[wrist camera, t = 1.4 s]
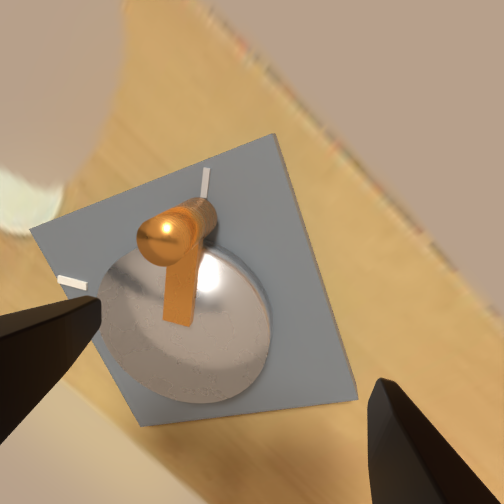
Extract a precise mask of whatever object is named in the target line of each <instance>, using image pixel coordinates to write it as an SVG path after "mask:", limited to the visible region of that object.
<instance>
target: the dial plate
mask: <svg viewBox="0 0 504 504" xmlns="http://www.w3.org/2000/svg"><path fill="white" fill-rule="evenodd" d="M194 197H200V198H204V199H206V200H207V201H209V202H210V203H211V204H212V205H213V206H214V208H215V210H216V212H217V224H216V226H215V228H214V230H213V231H212V232H210V233H209V234H208V235H207V236H206V237H205V238H204V239H206V240H209V241H212V242H214V243H216V244H218V245H221V246H223V247H224V248H226V249H228V250H229V251H231V252H232V253H234V254H235V255H236V256H238V257H239V258H240V259H242V260H243V261H244V262H245V263H246V264H247V265H248V266H249V267H250V268H251V269H252V271H253V272H254V273H255V274H256V276H257V277H258V279H259V280H260V282H261V283H262V285H263V287H264V289H265V291H266V293H267V295H268V298H269V301H270V304H271V308H272V315H273V331H272V338H271V342H270V346H269V350H268V354H267V357H266V361H265V364H264V366H263V368H262V370H261V372H260V374H259V375H258V377H257V378H256V379H255V381H254V382H253V383H252V384H251V385H250V386H249V387H248V388H246V389H245V390H243V391H242V392H241V393H239V394H237V395H235V396H233V397H231V398H228V399H225V400H223V401H218V402H213V403H188V402H181V401H177V400H173V399H170V398H167V397H165V396H162V395H160V394H157V393H155V392H153V391H151V390H150V389H148V388H146V387H144V386H143V385H141V384H140V383H139V382H137V381H136V380H134V379H133V378H132V377H131V376H130V375H129V374H128V373H126V372H125V371H124V369H123V368H122V367H121V366H120V365H119V364H118V363H117V362H116V360H115V359H114V358H113V356H112V355H111V353H110V352H109V350H108V348H107V347H106V345H105V343H104V341H103V338H102V336H101V333H100V330H98V331H97V333H96V334H95V335H94V337H93V338H92V339H91V340H92V342H93V343H94V345H95V347H96V349H97V351H98V352H99V354H100V356H101V358H102V359H103V361H104V363H105V365H106V367H107V368H108V370H109V372H110V374H111V375H112V377H113V379H114V381H115V382H116V384H117V386H118V388H119V390H120V391H121V393H122V395H123V397H124V398H125V400H126V402H127V404H128V406H129V407H130V409H131V411H132V413H133V414H134V416H135V418H136V420H137V422H138V423H139V425H140V427H144V426H152V425H160V424H168V423H176V422H184V421H192V420H200V419H208V418H216V417H224V416H232V415H240V414H249V413H257V412H265V411H273V410H281V409H289V408H297V407H305V406H313V405H321V404H329V403H337V402H345V401H353V400H358V393H357V386H356V382H355V379H354V376H353V373H352V370H351V367H350V363H349V360H348V357H347V354H346V351H345V348H344V345H343V342H342V339H341V335H340V332H339V329H338V326H337V323H336V320H335V317H334V314H333V311H332V308H331V304H330V301H329V298H328V295H327V292H326V289H325V286H324V283H323V280H322V277H321V273H320V270H319V267H318V264H317V261H316V258H315V255H314V252H313V249H312V245H311V242H310V239H309V236H308V233H307V230H306V227H305V224H304V221H303V218H302V214H301V211H300V208H299V205H298V202H297V199H296V196H295V193H294V190H293V187H292V183H291V180H290V177H289V174H288V171H287V168H286V165H285V162H284V159H283V156H282V152H281V149H280V146H279V143H278V140H277V137H276V134H275V133H274V134H269V135H267V136H264V137H262V138H259V139H257V140H254V141H252V142H249V143H247V144H244V145H242V146H239V147H236V148H234V149H231V150H229V151H226V152H224V153H221V154H219V155H216V156H214V157H211V158H209V159H206V160H204V161H201V162H198V163H196V164H193V165H191V166H188V167H186V168H183V169H181V170H178V171H176V172H173V173H171V174H168V175H166V176H163V177H160V178H158V179H155V180H153V181H150V182H148V183H145V184H143V185H140V186H138V187H135V188H133V189H130V190H127V191H125V192H122V193H120V194H117V195H115V196H112V197H110V198H107V199H105V200H102V201H100V202H97V203H95V204H92V205H89V206H87V207H84V208H82V209H79V210H77V211H74V212H72V213H69V214H67V215H64V216H62V217H59V218H57V219H54V220H51V221H49V222H46V223H44V224H41V225H39V226H36V227H34V228H31V229H29V230H30V232H31V233H32V235H33V237H34V239H35V240H36V242H37V244H38V246H39V248H40V249H41V251H42V253H43V255H44V256H45V258H46V260H47V262H48V264H49V265H50V267H51V269H52V271H53V272H54V274H55V276H56V278H57V280H58V283H60V285H61V287H62V288H63V290H64V292H65V294H66V296H67V297H68V299H73V298H77V297H81V296H85V295H89V296H93V297H96V298H97V294H98V289H99V286H100V284H101V281H102V279H103V277H104V276H105V274H106V272H107V271H108V270H109V269H110V267H111V266H112V265H113V264H114V263H115V262H116V261H118V260H119V259H120V258H121V257H123V256H124V255H126V254H128V253H129V252H131V251H132V250H134V249H136V248H137V247H138V246H137V241H136V236H137V231H138V229H139V227H140V226H141V224H142V223H143V222H145V221H146V220H148V219H150V218H152V217H154V216H156V215H158V214H160V213H162V212H164V211H166V210H168V209H170V208H172V207H174V206H176V205H178V204H180V203H182V202H184V201H186V200H188V199H191V198H194Z"/></svg>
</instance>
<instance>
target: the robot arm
mask: <svg viewBox="0 0 504 504" xmlns="http://www.w3.org/2000/svg"><path fill="white" fill-rule="evenodd" d="M101 323H102V302H101V300H100V299H99V298H96V297H93V296H89V295H85V296H81V297H77V298H73V299H69V300H64V301H60V302H56V303H52V304H48V305H43V306H39V307H35V308H31V309H27V310H23V311H18V312H14V313H10V314H6V315H2V316H0V445H1V444H2V442H3V441H4V440H5V439H6V438H7V437H8V436H9V435H10V434H11V433H12V431H13V430H14V429H15V428H16V427H17V426H18V425H19V424H20V423H21V422H22V420H23V419H24V418H25V417H26V416H27V415H28V414H29V413H30V412H31V411H32V409H33V408H34V407H35V406H36V405H37V404H38V403H39V402H40V401H41V400H42V398H43V397H44V396H45V395H46V394H47V393H48V392H49V391H50V390H51V389H52V388H53V386H54V385H55V384H56V383H57V382H58V381H59V380H60V379H61V378H62V377H63V375H64V374H65V373H66V372H67V371H68V370H69V368H70V367H71V366H72V365H73V363H74V362H75V361H76V359H77V358H78V357H79V355H80V354H81V353H82V351H83V350H84V349H85V347H86V346H87V345H88V343H89V342H90V341H91V339H92V338H93V337H94V335H95V334H96V333H97V331H98V330H99V328H100V326H101ZM367 419H368V470H369V479H370V488H371V496H372V504H501V503H500V502H499V501H498V500H497V498H496V497H495V496H494V495H493V494H492V493H491V492H490V490H489V489H488V488H487V487H486V486H485V485H484V483H483V482H482V481H481V480H480V479H479V478H478V477H477V475H476V474H475V473H474V472H473V471H472V470H471V468H470V467H469V466H468V465H467V464H466V463H465V462H464V460H463V459H462V458H461V457H460V456H459V455H458V453H457V452H456V451H455V450H454V449H453V448H452V447H451V445H450V444H449V443H448V442H447V441H446V440H445V438H444V437H443V436H442V435H441V434H440V433H439V432H438V430H437V429H436V428H435V427H434V426H433V425H432V423H431V422H430V421H429V420H428V419H427V418H426V417H425V415H424V414H423V413H422V412H421V411H420V410H419V408H418V407H417V406H416V405H415V404H414V403H413V402H412V400H411V399H410V398H409V397H408V396H407V395H406V393H405V392H404V391H403V390H402V389H401V388H400V386H399V385H398V384H397V383H396V382H394V381H392V380H388V379H385V378H379V379H378V380H377V381H376V384H375V386H374V389H373V391H372V393H371V396H370V398H369V401H368V407H367Z"/></svg>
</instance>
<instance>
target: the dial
mask: <svg viewBox="0 0 504 504" xmlns="http://www.w3.org/2000/svg"><path fill="white" fill-rule="evenodd" d="M216 224H217V212H216V210H215V208H214V206H213V205H212V204H211V203H210V202H209V201H207V200H206V199H204V198H200V197H194V198H191V199H188V200H186V201H184V202H182V203H180V204H178V205H176V206H174V207H172V208H170V209H168V210H166V211H164V212H162V213H160V214H158V215H156V216H154V217H152V218H150V219H148V220H146V221H145V222H143V223H142V224H141V226H140V227H139V229H138V231H137V236H136V241H137V246H138V247H137V248H136V249H134V250H132V251H131V252H129V253H128V254H126V255H124V256H123V257H121V258H120V259H119V260H118V261H116V262H115V263H114V264H113V265H112V266H111V267H110V269H109V270H108V271H107V272H106V274H105V276H104V277H103V279H102V281H101V284H100V286H99V289H98V294H97V298H99V299H100V300H101V302H102V323H101V326H100V328H99V330H100V333H101V336H102V338H103V341H104V343H105V345H106V347H107V348H108V350H109V352H110V353H111V355H112V356H113V358H114V359H115V360H116V362H117V363H118V364H119V365H120V366H121V367H122V368H123V369H124V371H125V372H126V373H128V374H129V375H130V376H131V377H132V378H133V379H134V380H136V381H137V382H139V383H140V384H141V385H143V386H144V387H146V388H148V389H150V390H151V391H153V392H155V393H157V394H160V395H162V396H165V397H167V398H170V399H173V400H177V401H181V402H188V403H213V402H218V401H223V400H225V399H228V398H231V397H233V396H235V395H237V394H239V393H241V392H242V391H243V390H245V389H246V388H248V387H249V386H250V385H251V384H252V383H253V382H254V381H255V379H256V378H257V377H258V375H259V374H260V372H261V370H262V368H263V366H264V364H265V361H266V357H267V354H268V350H269V346H270V342H271V338H272V331H273V315H272V308H271V304H270V301H269V298H268V295H267V293H266V291H265V289H264V287H263V285H262V283H261V282H260V280H259V279H258V277H257V276H256V274H255V273H254V272H253V271H252V269H251V268H250V267H249V266H248V265H247V264H246V263H245V262H244V261H243V260H242V259H240V258H239V257H238V256H236V255H235V254H234V253H232V252H231V251H229V250H228V249H226V248H224V247H223V246H221V245H218V244H216V243H214V242H212V241H209V240H206V239H204V238H205V237H206V236H207V235H208V234H209V233H210V232H212V231H213V230H214V228H215V226H216Z"/></svg>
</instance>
